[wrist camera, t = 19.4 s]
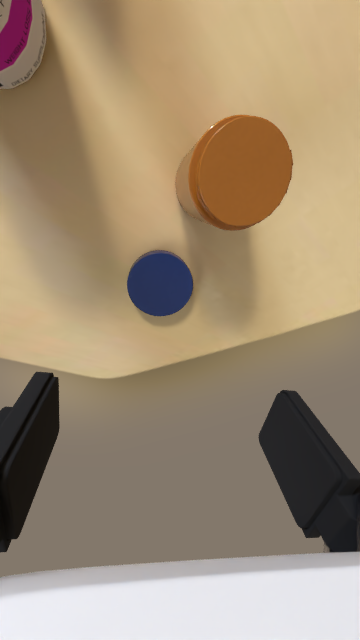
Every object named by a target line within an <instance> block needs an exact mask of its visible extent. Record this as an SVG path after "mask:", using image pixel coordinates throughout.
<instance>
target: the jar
mask: <svg viewBox="0 0 360 640" xmlns="http://www.w3.org/2000/svg"><path fill="white" fill-rule="evenodd" d="M292 165H293V160H292V153H291V150H290V149H289V146H288V143H287V141H286V139H285V137H284V135H283V134H282V132H281V131H280V130H279V129H278V128H277V127H276V126H275V125H274V124H273V123H271V122H270V121H268V120H266V119H263V118H261V117H256V116H249V115H234V116H230V117H227V118H224V119H222V120H220V121H218V122H217V123H216V124H214V125H213V126H212V127H210V128H209V129H208V130H207V131H206V132H205V134H204V135H203V136H202V137H201V138H200V139H199V141H198V142H197V143H196V144H195V145H194V146H193V148H192V149H191V150H190V151H189V152H188V154H187V155H186V156H185V157H184V158H183V160H182V161H181V163H180V165H179V168H178V170H177V174H176V181H175V188H176V194H177V198H178V200H179V203H180V204H181V206H182V208H183V209H184V210H185V211H186V212H187V213H188V214H189V215H190V216H192V217H193V218H195V219H198V220H200V221H202V222H205V223H207V224H210V225H212V226H215V227H217V228H220V229H224V230H242V229H245V228H248V227H251V226H253V225H255V224H256V223H259V222H261V221H262V220H263V219H265V218H266V217H267V216H270V214H271V213H272V212H273V211H274V210H275V209H276V208H277V206H279V204H280V203H281V201H282V199H283V197H284V195H285V194H286V193H287V189H288V186H289V182H290V180H291V175H292Z"/></svg>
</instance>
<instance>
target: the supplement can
mask: <svg viewBox="0 0 360 640" xmlns="http://www.w3.org/2000/svg"><path fill="white" fill-rule="evenodd" d="M45 44H46V24H45V10H44V7H43V4H42V1H41V0H0V89H12V88H14V87H16V86H18V85H20V84H22V83H24V82H26V81H28V80H29V79H30V78H31V76H32V75H33V74H34V72H35V71H36V69H37V68H38V67H39V65H40V64H41V61H42V57H43V52H44V48H45Z"/></svg>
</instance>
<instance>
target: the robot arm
mask: <svg viewBox="0 0 360 640" xmlns="http://www.w3.org/2000/svg"><path fill="white" fill-rule="evenodd" d="M58 384H59V383H58V377H54V375H53V373H46V372H36V373H35V374H34V376H33V377H32V379H31V380H30V382H29V383H28V385H27V386H26V388H25V389H24V391H23V392H22V394H21V395H20V397H19V398H18V400H17V402H16V403H15V404H14V406H13V407H4V408H2V410H1V411H0V552H6V551H7V550H8V547H9V545H10V542H11V539H17V538H18V537H19V535H20V533H21V530H22V527H23V525H24V522H25V520H26V517H27V515H28V512H29V509H30V507H31V504H32V501H33V499H34V496H35V494H36V491H37V488H38V486H39V483H40V480H41V478H42V475H43V473H44V470H45V467H46V465H47V462H48V460H49V457H50V454H51V452H52V449H53V447H54V444H55V442H56V439H57V436H58V432H59V385H58ZM259 442H260V445H261V447H262V449H263V451H264V454H265V456H266V458H267V460H268V462H269V464H270V467H271V469H272V471H273V473H274V475H275V478H276V480H277V482H278V484H279V486H280V489H281V491H282V493H283V495H284V497H285V499H286V502H287V504H288V506H289V508H290V510H291V512H292V515H293V517H294V519H295V521H296V523H297V525H298V526H299V527H300V528H302V530H303V532H304V535H305V537H306V538H317V537H320V535H321V536H322V538H323V540H324V553H312V554H293V555H274V556H256V557H240V558H223V559H206V560H189V561H173V562H157V563H143V564H128V565H112V566H97V567H85V568H74V569H61V570H50V571H39V572H31V573H24V574H17V575H10V576H5V577H0V640H360V473H359V472H358V471H357V469H356V468H355V467H354V465H353V464H352V463H351V461H350V460H349V459H348V458H347V456H346V455H345V454H344V453H343V451H342V450H341V449H340V447H339V446H338V445H337V443H336V442H335V441H334V440H333V438H332V437H331V436H330V434H329V433H328V432H327V431H326V429H325V428H324V427H323V425H322V424H321V423H320V421H319V420H318V419H317V418H316V416H315V415H314V414H313V412H312V411H311V410H310V408H309V407H308V406H307V404H306V403H305V402H304V401H303V399H302V398H301V397H300V395H299V394H298V393H297V392H296V391H287V390H282V391H281V392H280V393H278V394H277V396H276V398H275V400H274V402H273V405H272V407H271V409H270V411H269V413H268V416H267V418H266V420H265V422H264V425H263V427H262V429H261V431H260V433H259Z"/></svg>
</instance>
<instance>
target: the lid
mask: <svg viewBox="0 0 360 640" xmlns="http://www.w3.org/2000/svg"><path fill="white" fill-rule="evenodd" d="M127 289H128V293H129V296H130V298H131V300H132V302H133V303H134V304H135V306H136V307H137V308H139V309H140V310H141V311H143V312H145V313H147V314H150V315H154V316H167V315H170V314H173V313H175V312H177V311H179V310H180V309H181V308H183V307H184V306H185V305H186V303H187V302H188V300H189V299H190V296H191V294H192V290H193V279H192V275H191V273H190V270H189V269H188V267H187V265H186V264H185V262H184V261H183V260H182V259H181V258H180V257H178V256H177V255H175V254H174V253H171V252H168V251H163V250H156V251H151V252H148V253H146V254H144V255H142V256H140V257H139V258H138V259H137V260H136V261H135V262H134V264H133V265H132V267H131V269H130V272H129V276H128V281H127Z"/></svg>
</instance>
